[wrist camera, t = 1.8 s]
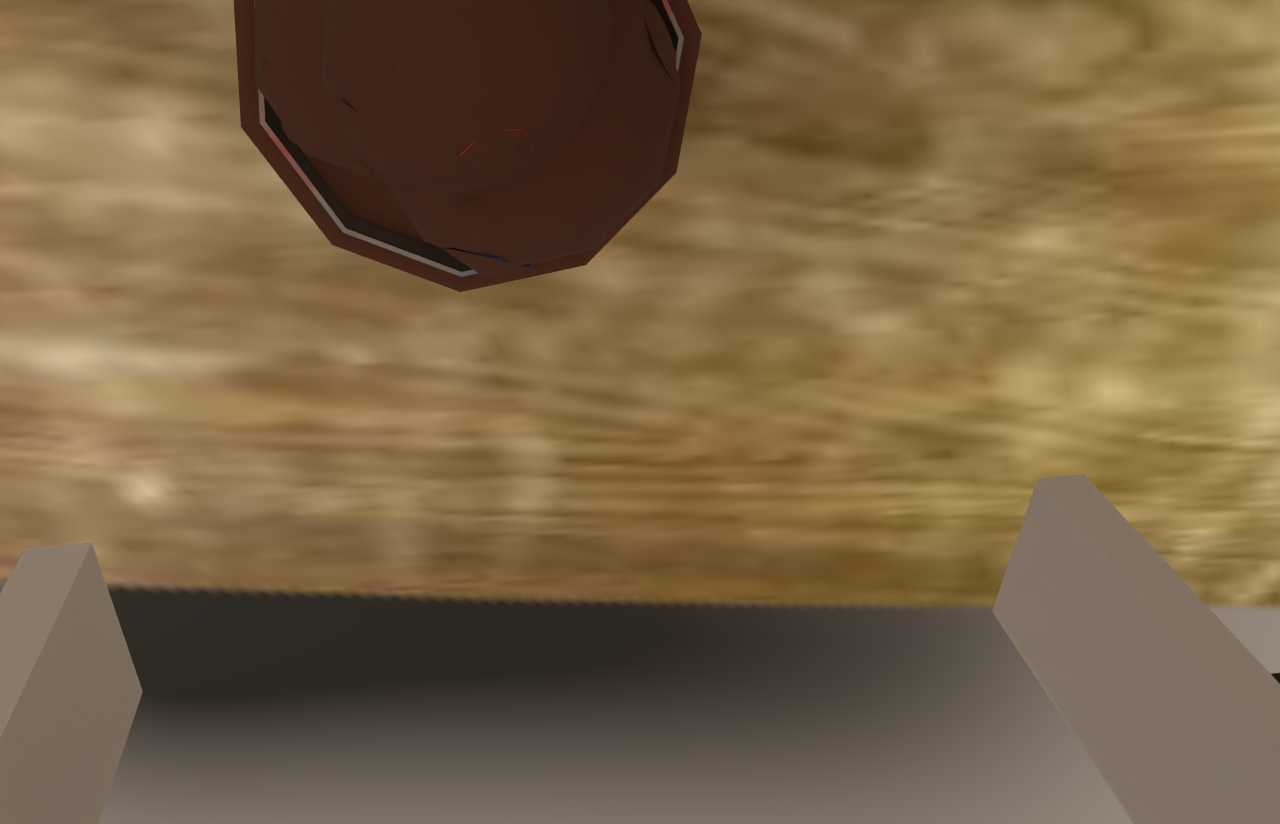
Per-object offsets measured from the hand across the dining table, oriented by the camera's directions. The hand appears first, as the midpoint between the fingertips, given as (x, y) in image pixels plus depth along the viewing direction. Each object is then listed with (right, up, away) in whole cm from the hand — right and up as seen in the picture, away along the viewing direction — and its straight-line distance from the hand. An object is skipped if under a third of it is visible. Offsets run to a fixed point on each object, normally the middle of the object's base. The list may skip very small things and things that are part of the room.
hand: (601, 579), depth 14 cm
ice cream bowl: (-5, +16, +17) cm, 24 cm away
